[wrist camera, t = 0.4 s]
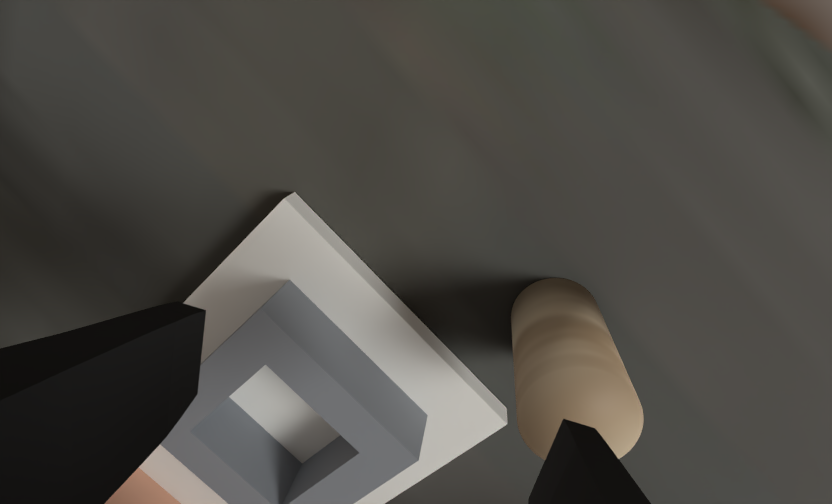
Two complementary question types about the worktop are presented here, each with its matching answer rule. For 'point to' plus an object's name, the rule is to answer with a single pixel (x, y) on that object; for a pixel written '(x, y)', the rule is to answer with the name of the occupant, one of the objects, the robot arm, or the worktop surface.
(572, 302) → the peg
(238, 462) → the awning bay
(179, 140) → the worktop surface
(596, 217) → the worktop surface
